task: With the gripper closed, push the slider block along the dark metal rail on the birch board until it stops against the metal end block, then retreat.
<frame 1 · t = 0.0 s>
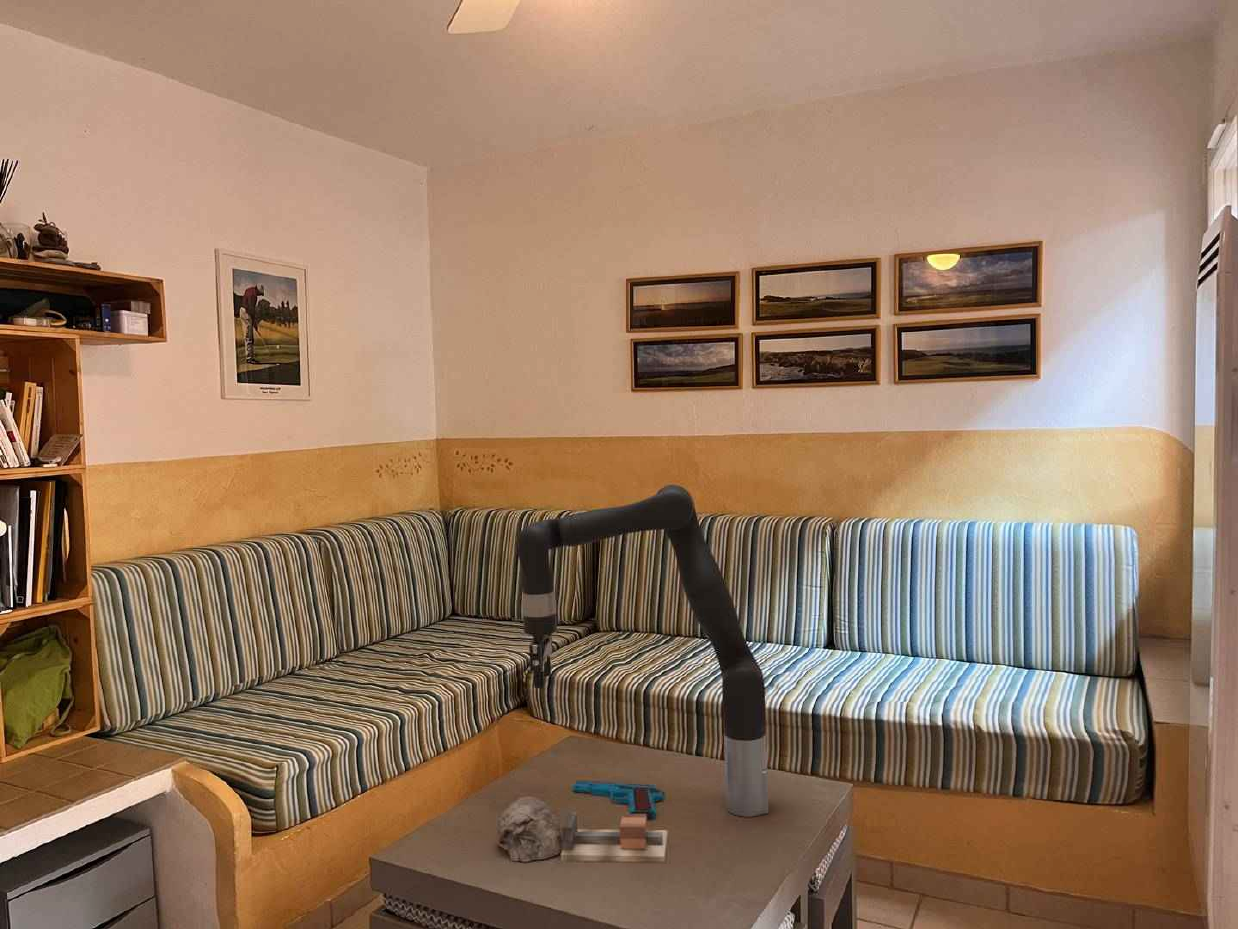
hand: (542, 681, 213), 29 cm above the table, fingers open, 8 cm apart
rail board: (615, 848, 195), on the table
rock: (529, 850, 197), on the table
slider block: (633, 831, 195), point 4 cm above the table, slide at 0.0 cm
handgun: (615, 805, 216), on the table
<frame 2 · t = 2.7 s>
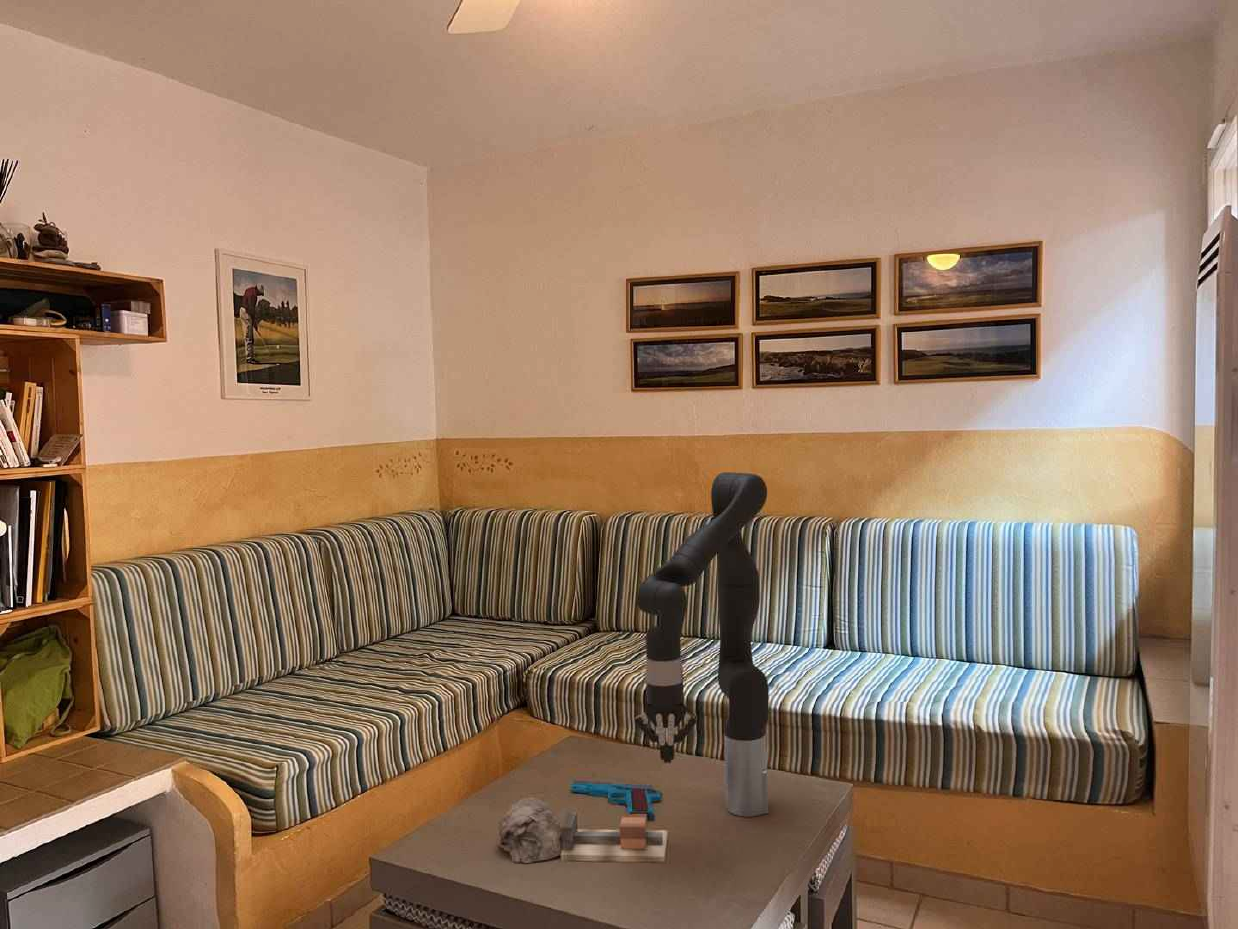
hand: (667, 761, 192), 19 cm above the table, fingers closed
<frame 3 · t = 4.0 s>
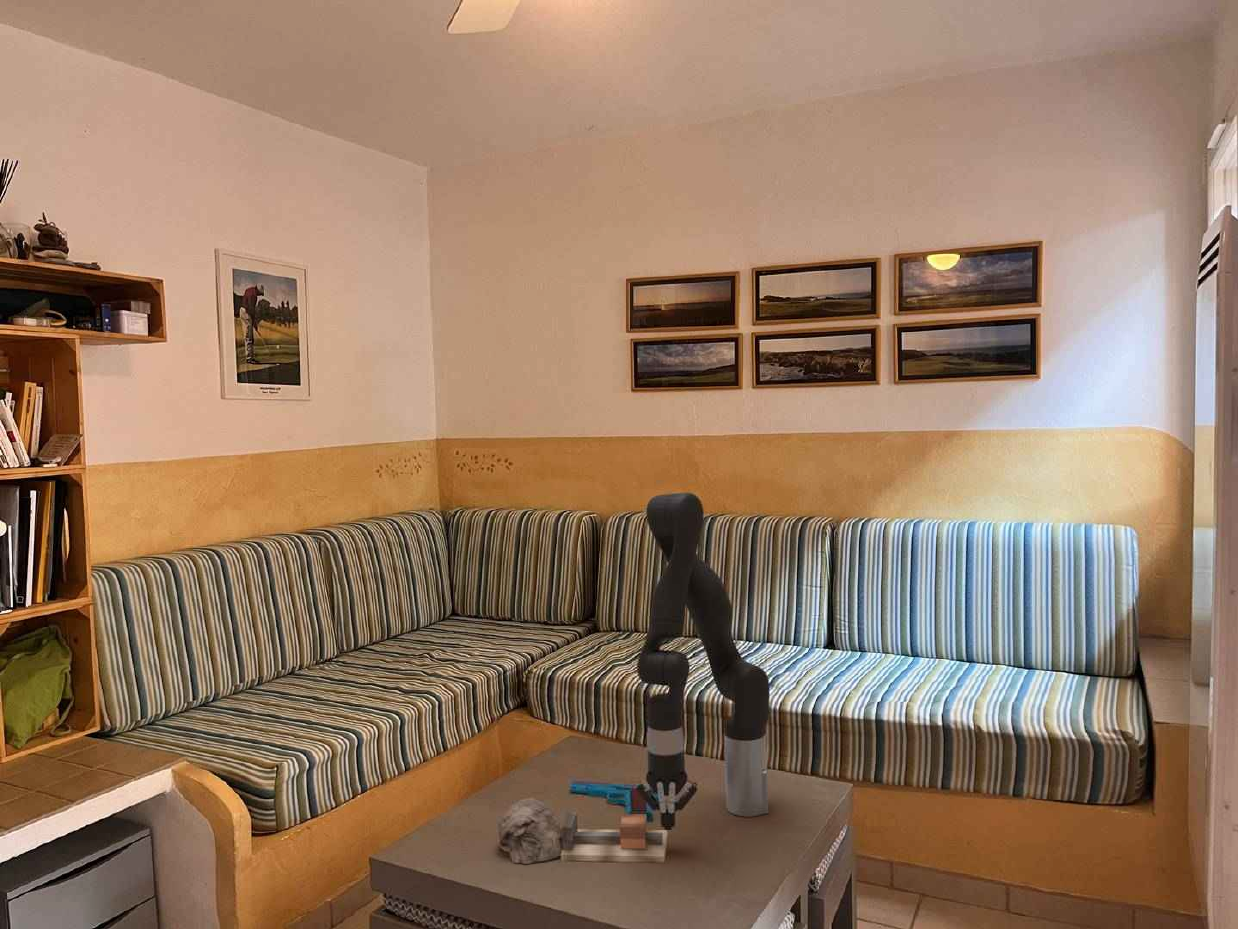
hand: (668, 828, 194), 4 cm above the table, fingers closed
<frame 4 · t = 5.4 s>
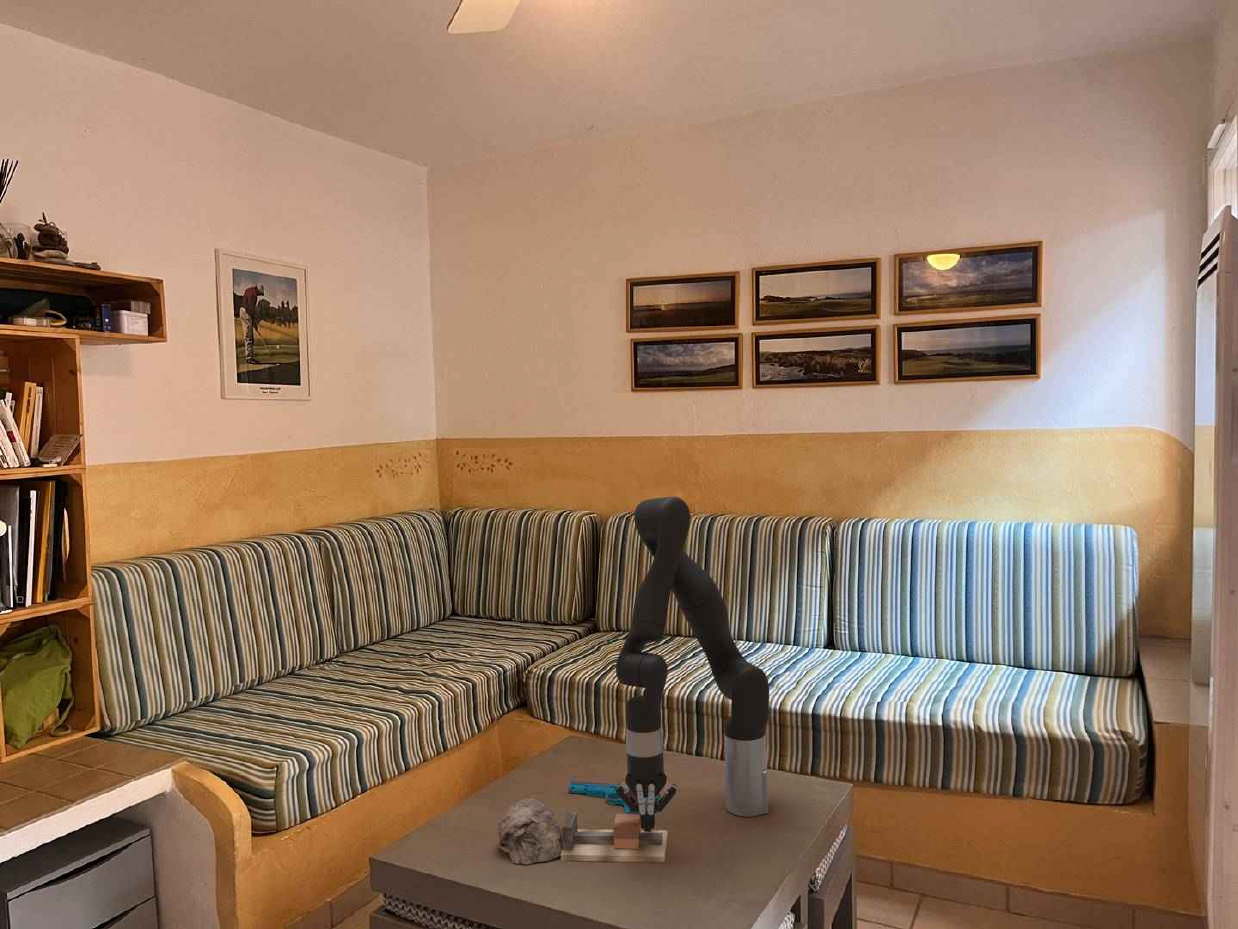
hand: (647, 830, 194), 4 cm above the table, fingers closed
slider block: (627, 831, 195), point 4 cm above the table, slide at 1.4 cm, touching gripper
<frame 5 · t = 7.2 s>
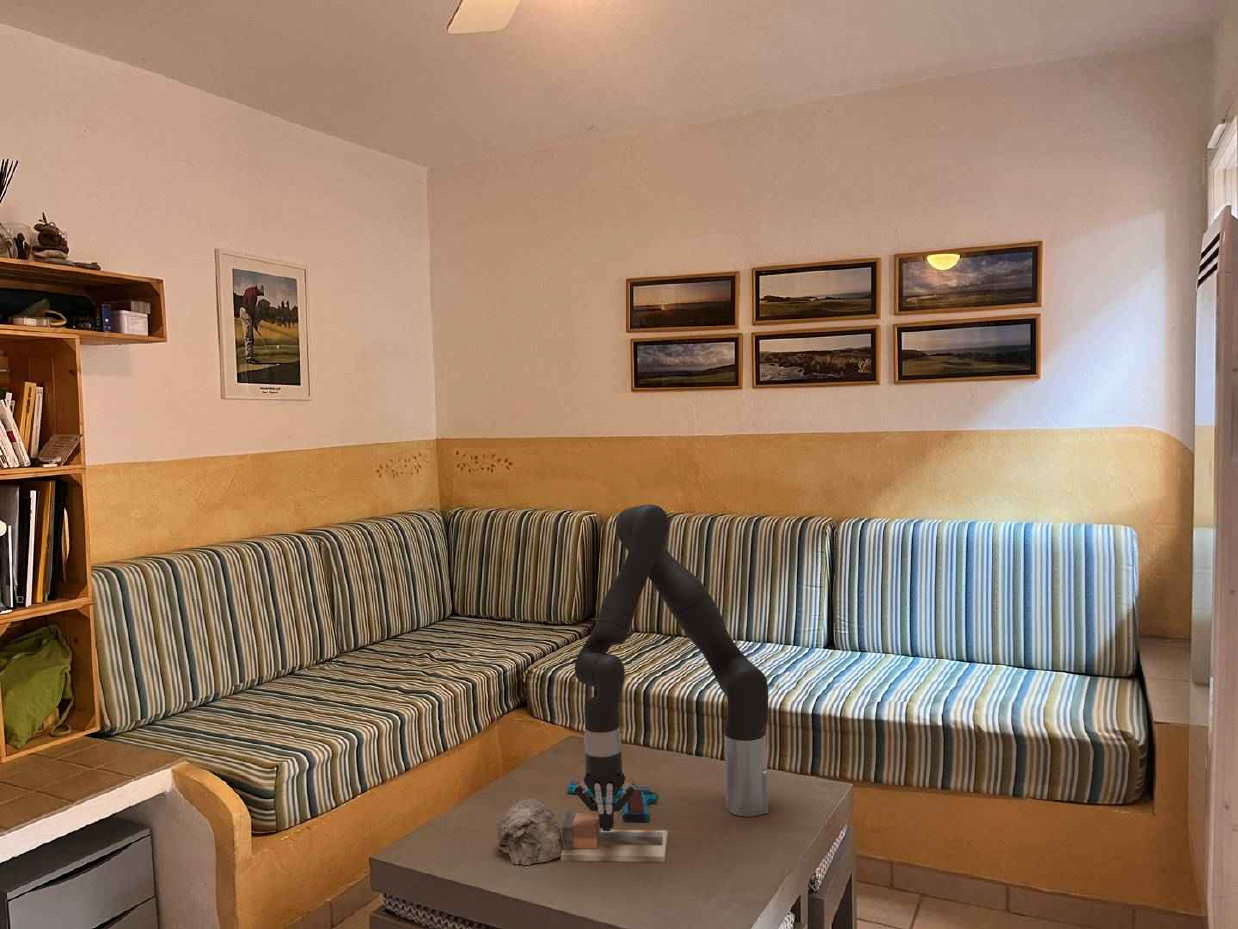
hand: (606, 829, 195), 4 cm above the table, fingers closed
slider block: (586, 830, 196), point 4 cm above the table, slide at 9.9 cm, touching gripper, rail board
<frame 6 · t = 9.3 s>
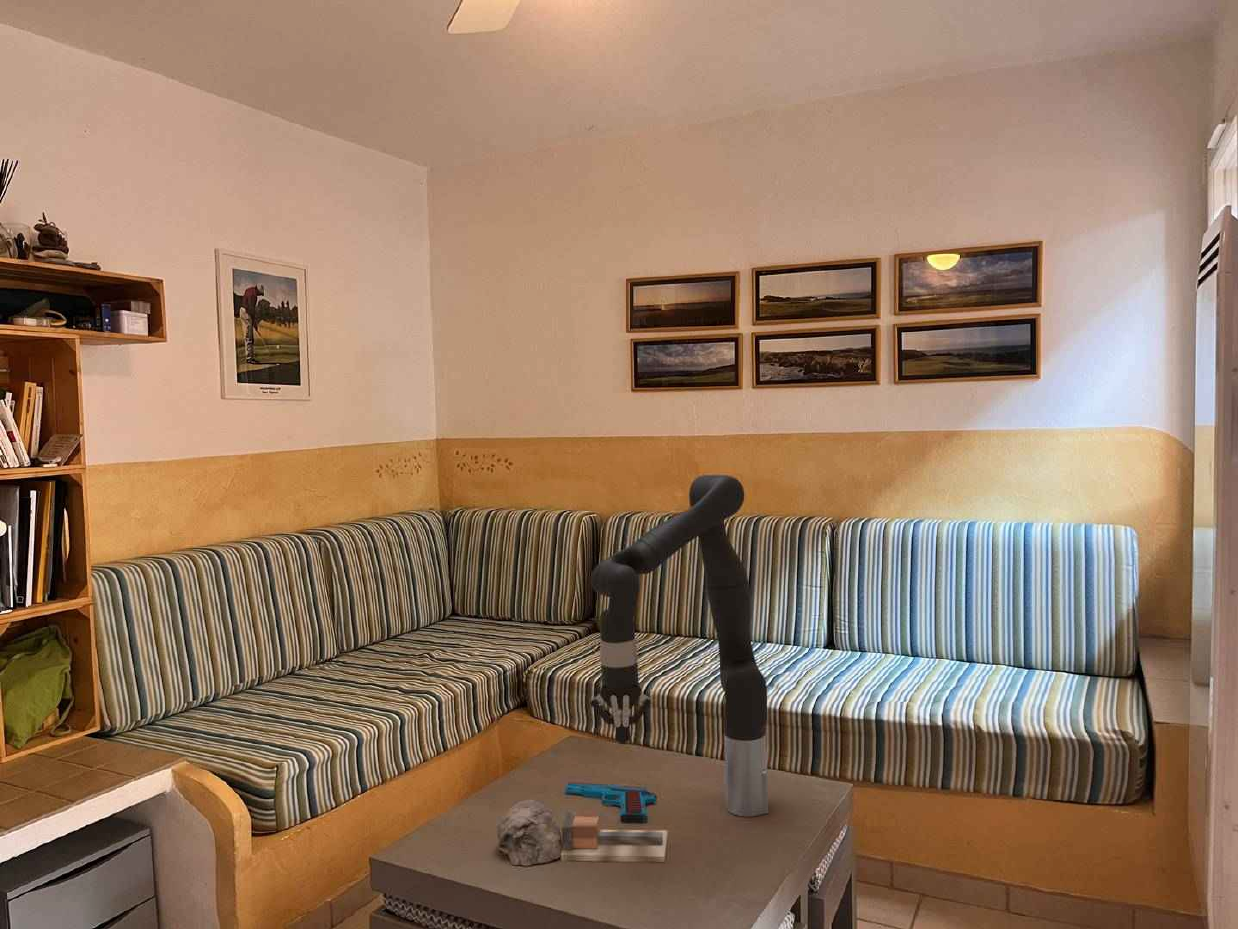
hand: (623, 743, 193), 23 cm above the table, fingers closed
slider block: (586, 830, 196), point 4 cm above the table, slide at 9.9 cm
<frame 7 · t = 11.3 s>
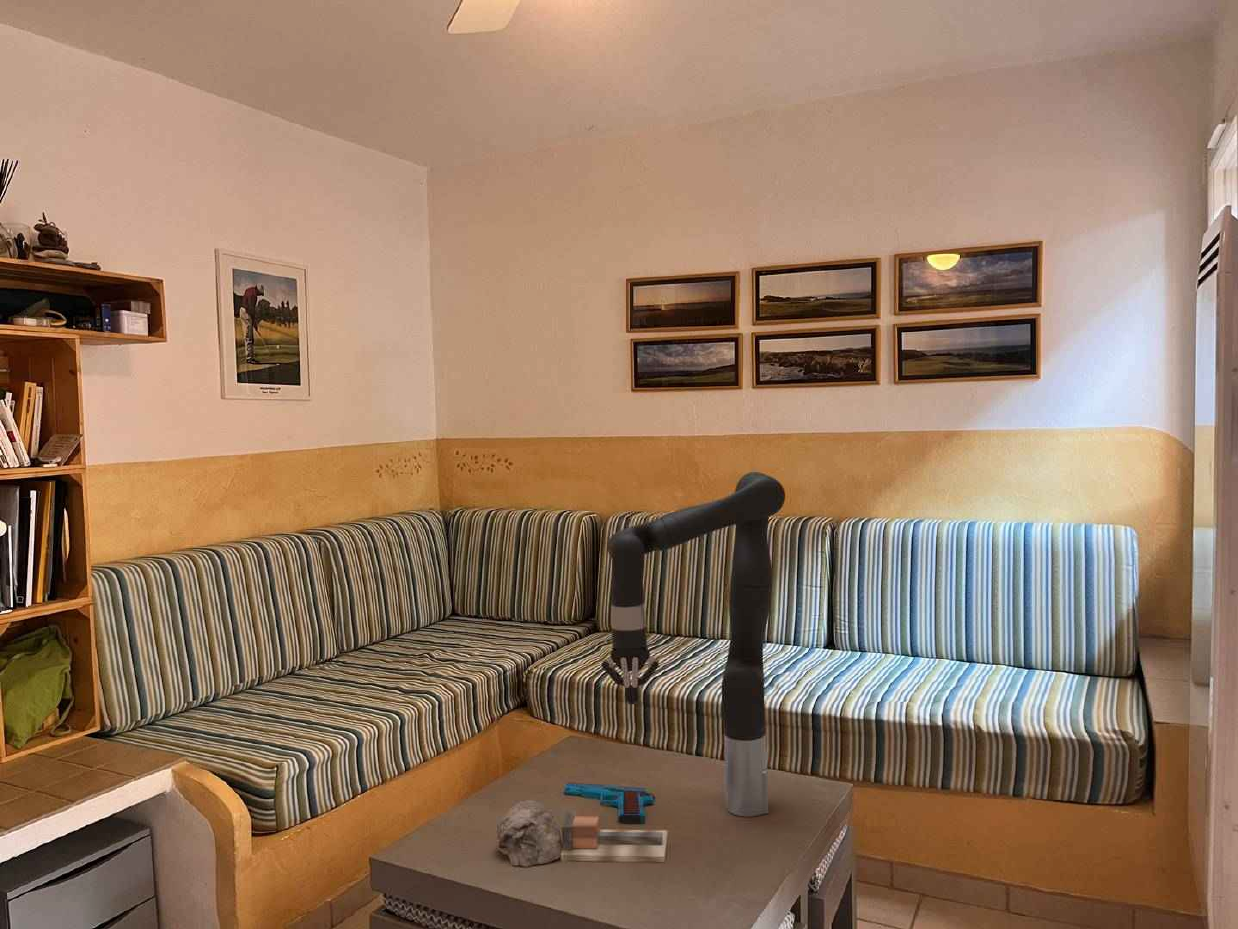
hand: (632, 703, 203), 27 cm above the table, fingers closed
at the end: slider block slide at 9.9 cm; slider block touching nothing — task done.
